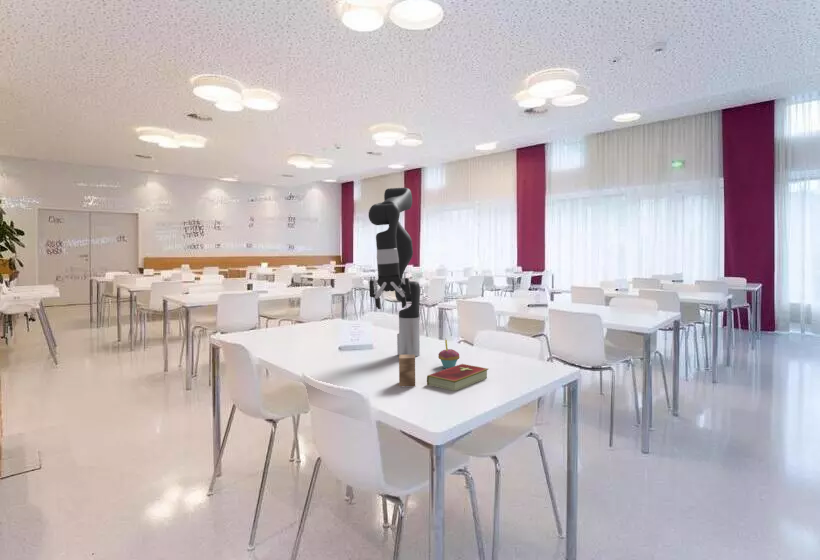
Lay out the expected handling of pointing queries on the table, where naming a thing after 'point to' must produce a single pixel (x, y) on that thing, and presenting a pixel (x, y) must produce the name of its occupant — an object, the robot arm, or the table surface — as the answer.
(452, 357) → the cupcake
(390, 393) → the table surface
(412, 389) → the table surface
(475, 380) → the hardcover book
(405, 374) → the block
